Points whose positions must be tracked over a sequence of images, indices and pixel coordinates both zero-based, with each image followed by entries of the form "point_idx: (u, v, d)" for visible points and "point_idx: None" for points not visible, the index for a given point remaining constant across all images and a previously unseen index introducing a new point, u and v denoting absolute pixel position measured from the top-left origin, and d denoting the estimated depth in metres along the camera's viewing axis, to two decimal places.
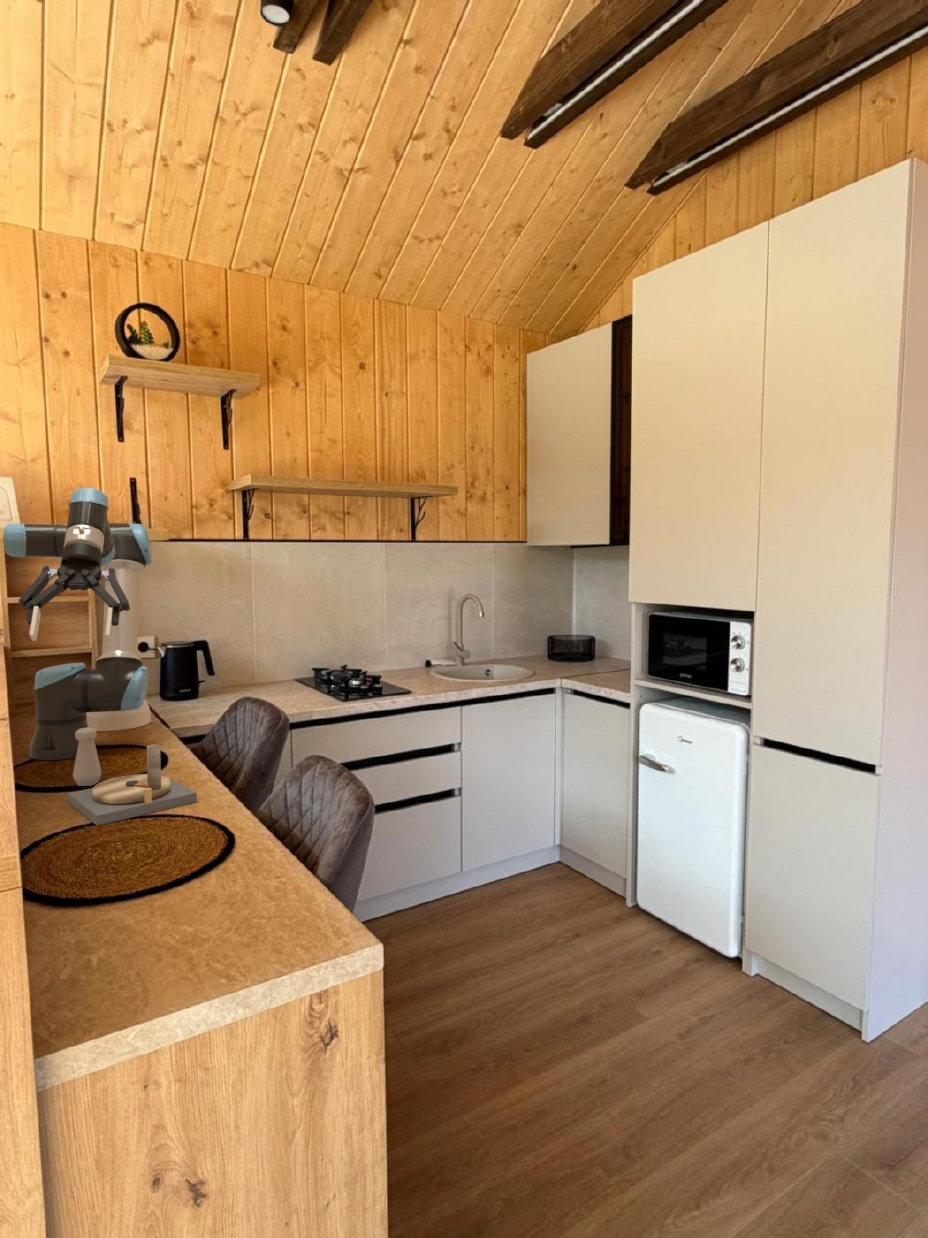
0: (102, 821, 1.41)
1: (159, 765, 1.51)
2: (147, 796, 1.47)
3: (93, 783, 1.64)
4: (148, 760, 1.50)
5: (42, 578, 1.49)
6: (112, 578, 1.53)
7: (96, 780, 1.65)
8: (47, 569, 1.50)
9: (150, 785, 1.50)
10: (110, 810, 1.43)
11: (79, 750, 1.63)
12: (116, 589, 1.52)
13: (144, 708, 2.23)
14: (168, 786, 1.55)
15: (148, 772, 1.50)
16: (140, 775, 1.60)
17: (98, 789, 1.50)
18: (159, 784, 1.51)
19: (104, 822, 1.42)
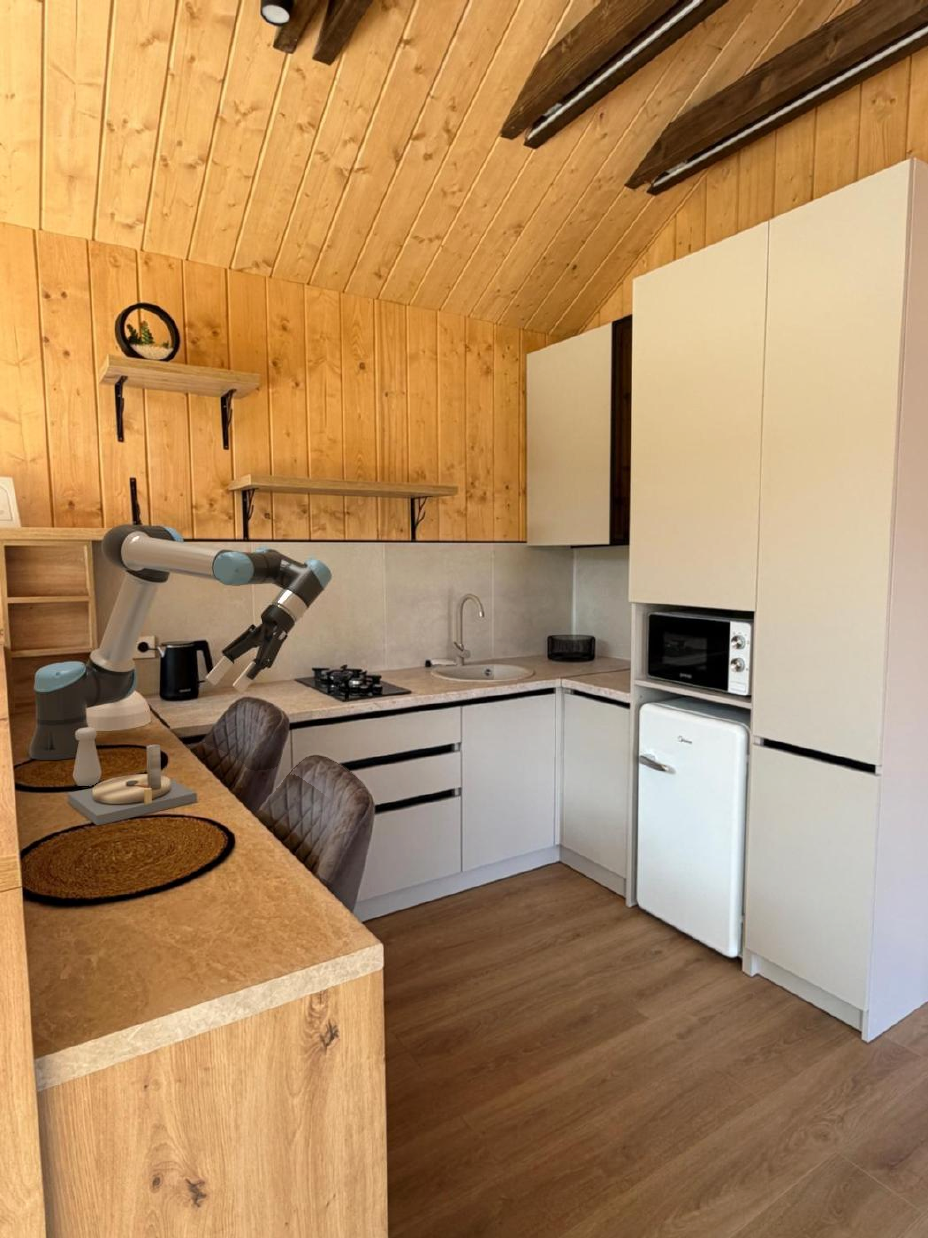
0: (102, 821, 1.41)
1: (159, 765, 1.51)
2: (147, 796, 1.47)
3: (93, 783, 1.64)
4: (148, 760, 1.50)
5: None
6: None
7: (96, 780, 1.65)
8: None
9: (150, 785, 1.50)
10: (110, 810, 1.43)
11: (79, 750, 1.63)
12: None
13: (144, 708, 2.23)
14: (168, 786, 1.55)
15: (148, 772, 1.50)
16: (140, 775, 1.60)
17: (98, 789, 1.50)
18: (159, 784, 1.51)
19: (104, 822, 1.42)
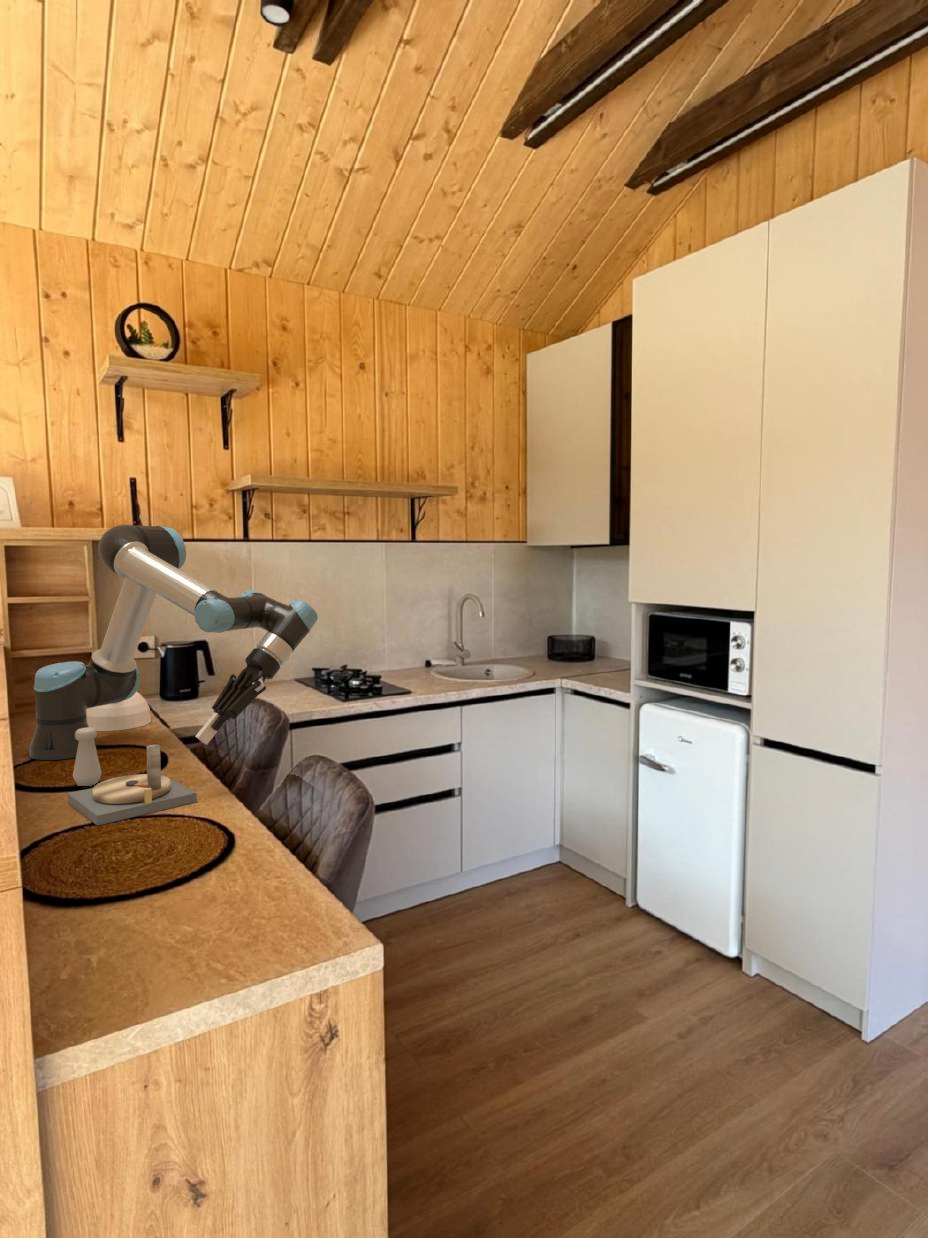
0: (102, 821, 1.41)
1: (159, 765, 1.51)
2: (147, 796, 1.47)
3: (93, 783, 1.64)
4: (148, 760, 1.50)
5: None
6: None
7: (96, 780, 1.65)
8: None
9: (150, 785, 1.50)
10: (110, 810, 1.43)
11: (79, 750, 1.63)
12: None
13: (144, 708, 2.23)
14: (168, 786, 1.55)
15: (148, 772, 1.50)
16: (140, 775, 1.60)
17: (98, 789, 1.50)
18: (159, 784, 1.51)
19: (104, 822, 1.42)
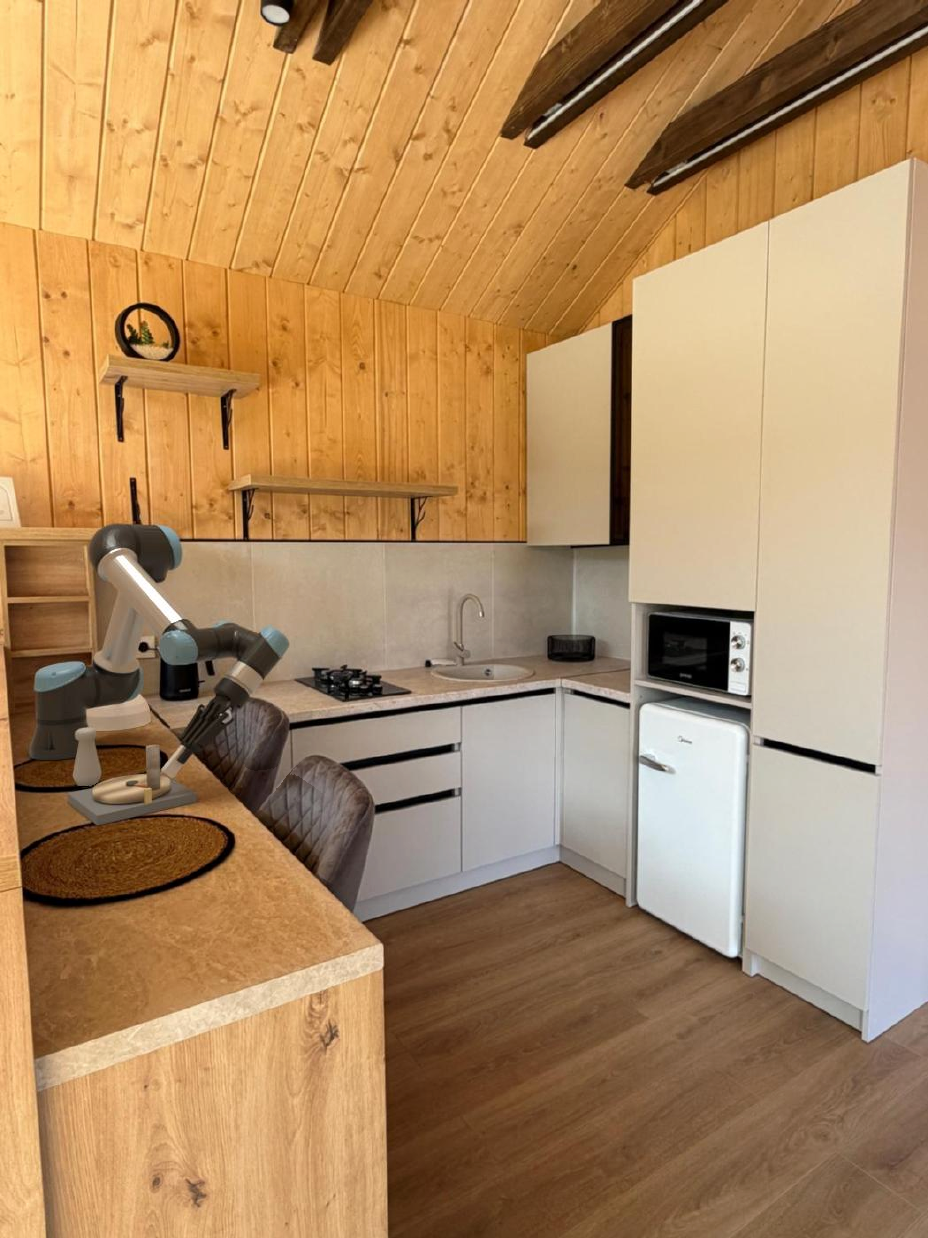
0: (102, 821, 1.41)
1: (158, 765, 1.51)
2: (147, 796, 1.47)
3: (93, 783, 1.64)
4: (147, 760, 1.50)
5: None
6: None
7: (96, 780, 1.65)
8: None
9: (149, 785, 1.50)
10: (110, 810, 1.43)
11: (79, 750, 1.63)
12: None
13: (144, 708, 2.23)
14: (168, 786, 1.54)
15: (147, 772, 1.50)
16: (141, 775, 1.60)
17: (98, 789, 1.51)
18: (158, 784, 1.51)
19: (104, 822, 1.42)
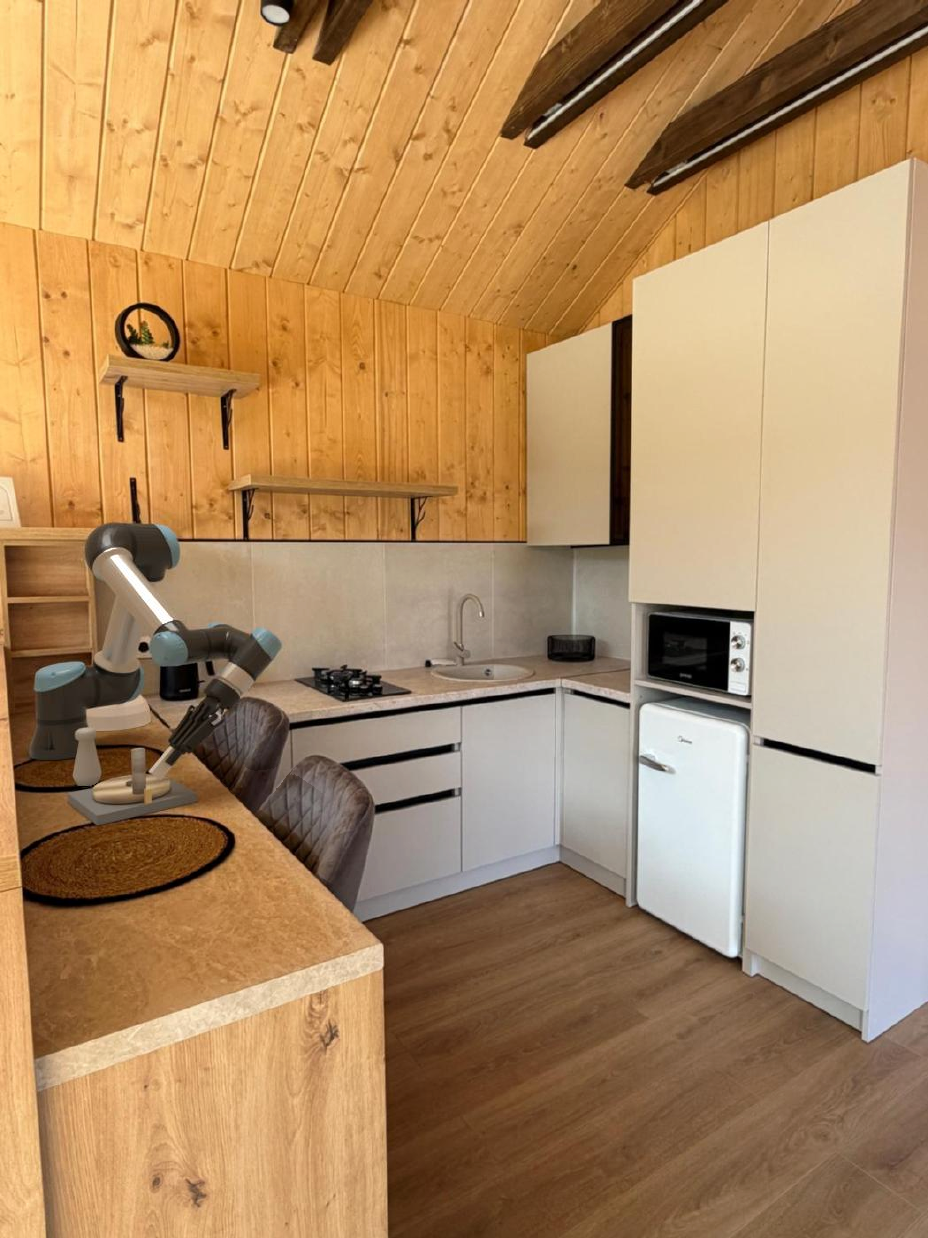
0: (102, 821, 1.41)
1: (141, 770, 1.48)
2: (147, 796, 1.47)
3: (93, 783, 1.64)
4: (131, 763, 1.48)
5: None
6: None
7: (96, 780, 1.65)
8: None
9: (132, 789, 1.48)
10: (110, 810, 1.43)
11: (79, 750, 1.63)
12: None
13: (144, 708, 2.23)
14: (156, 792, 1.50)
15: (132, 775, 1.48)
16: None
17: (102, 784, 1.54)
18: (141, 789, 1.48)
19: (104, 822, 1.42)
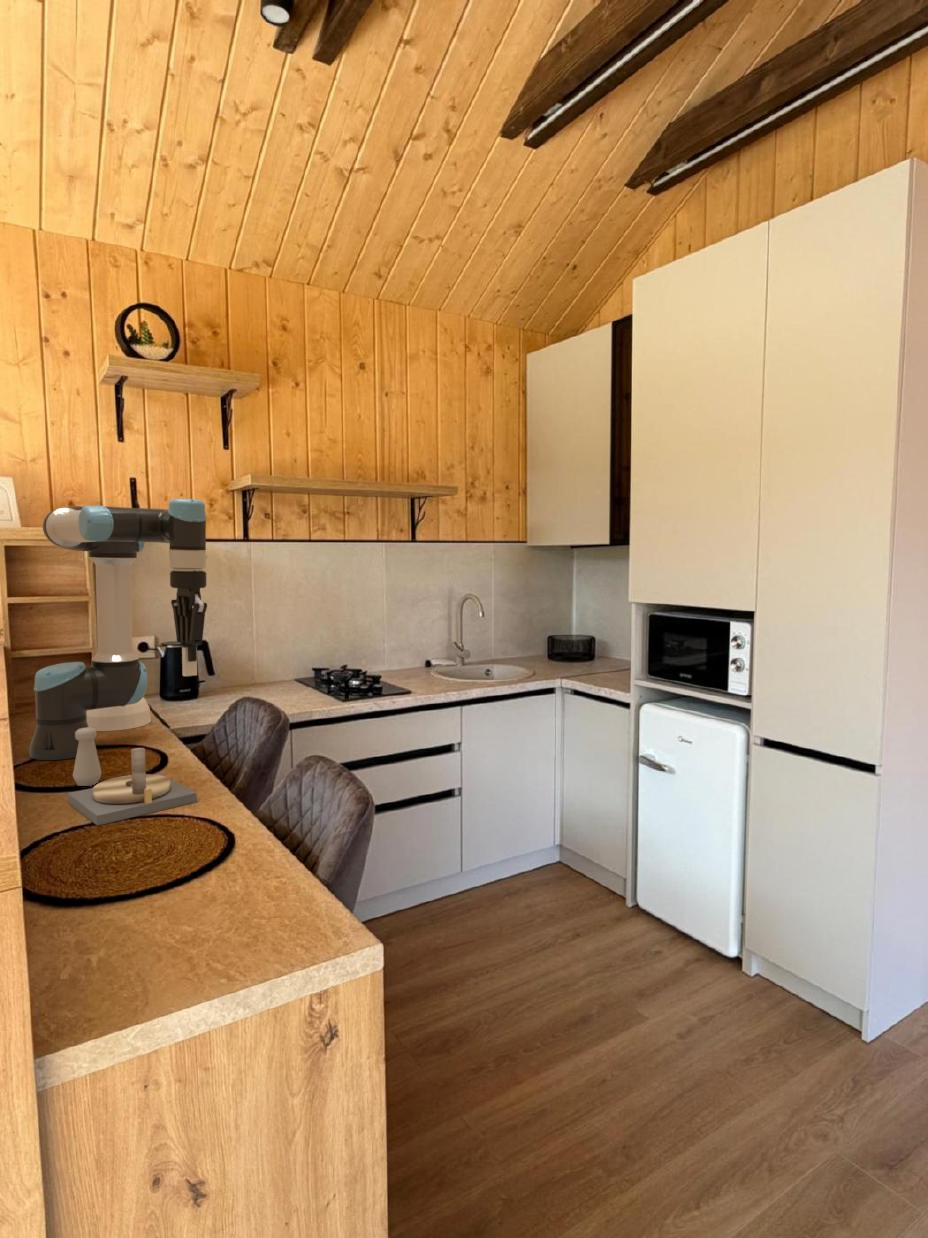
0: (102, 821, 1.41)
1: (141, 770, 1.48)
2: (147, 796, 1.47)
3: (93, 783, 1.64)
4: (131, 763, 1.48)
5: None
6: None
7: (96, 780, 1.65)
8: None
9: (132, 789, 1.48)
10: (110, 810, 1.43)
11: (79, 750, 1.63)
12: None
13: (144, 708, 2.23)
14: (156, 792, 1.50)
15: (132, 775, 1.48)
16: (156, 776, 1.60)
17: (102, 784, 1.54)
18: (141, 789, 1.48)
19: (104, 822, 1.42)
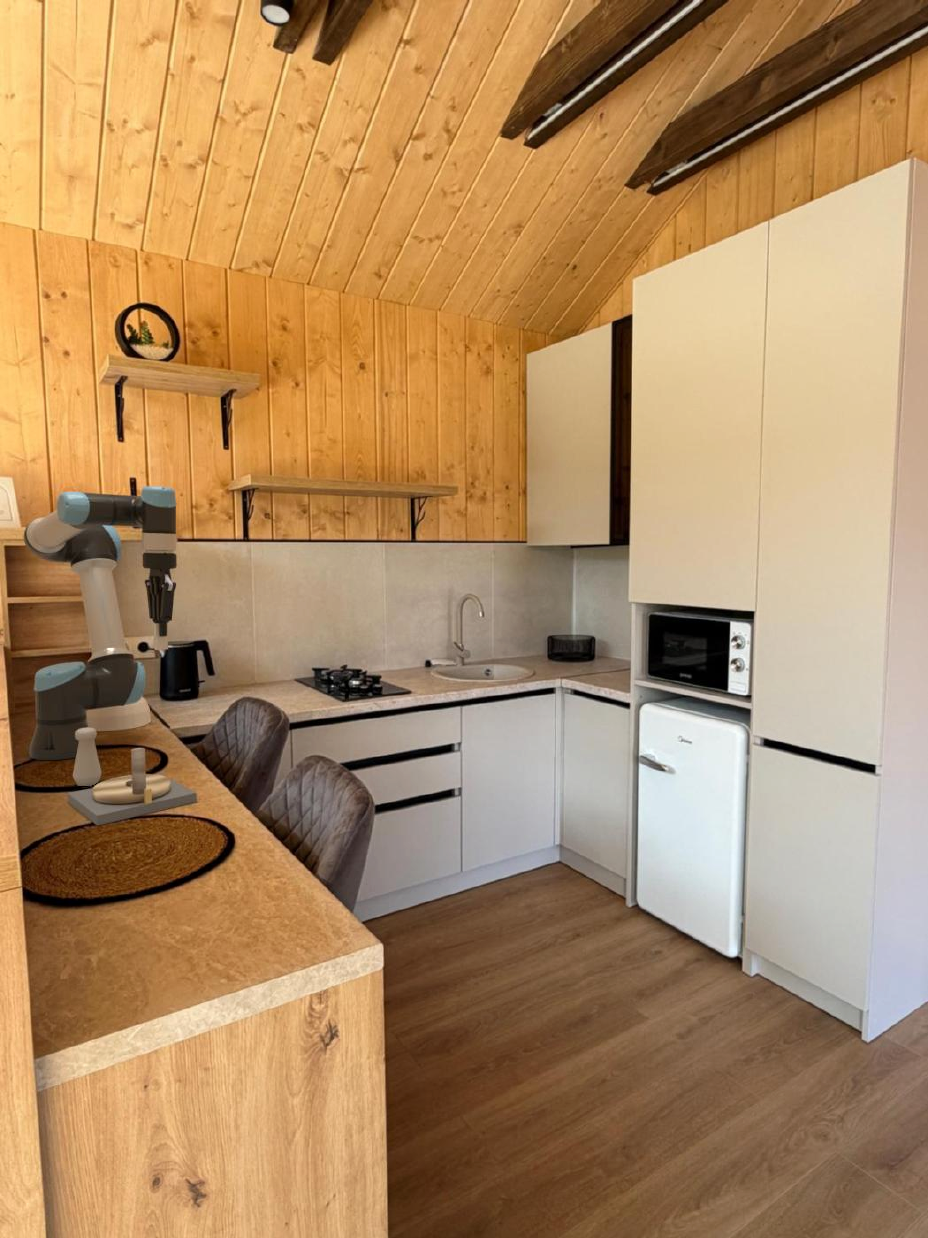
0: (102, 821, 1.41)
1: (141, 770, 1.48)
2: (147, 796, 1.47)
3: (93, 783, 1.64)
4: (131, 763, 1.48)
5: None
6: None
7: (96, 780, 1.65)
8: None
9: (132, 789, 1.48)
10: (110, 810, 1.43)
11: (79, 750, 1.63)
12: None
13: (144, 708, 2.23)
14: (156, 792, 1.50)
15: (132, 775, 1.48)
16: (156, 776, 1.60)
17: (102, 784, 1.54)
18: (141, 789, 1.48)
19: (104, 822, 1.42)
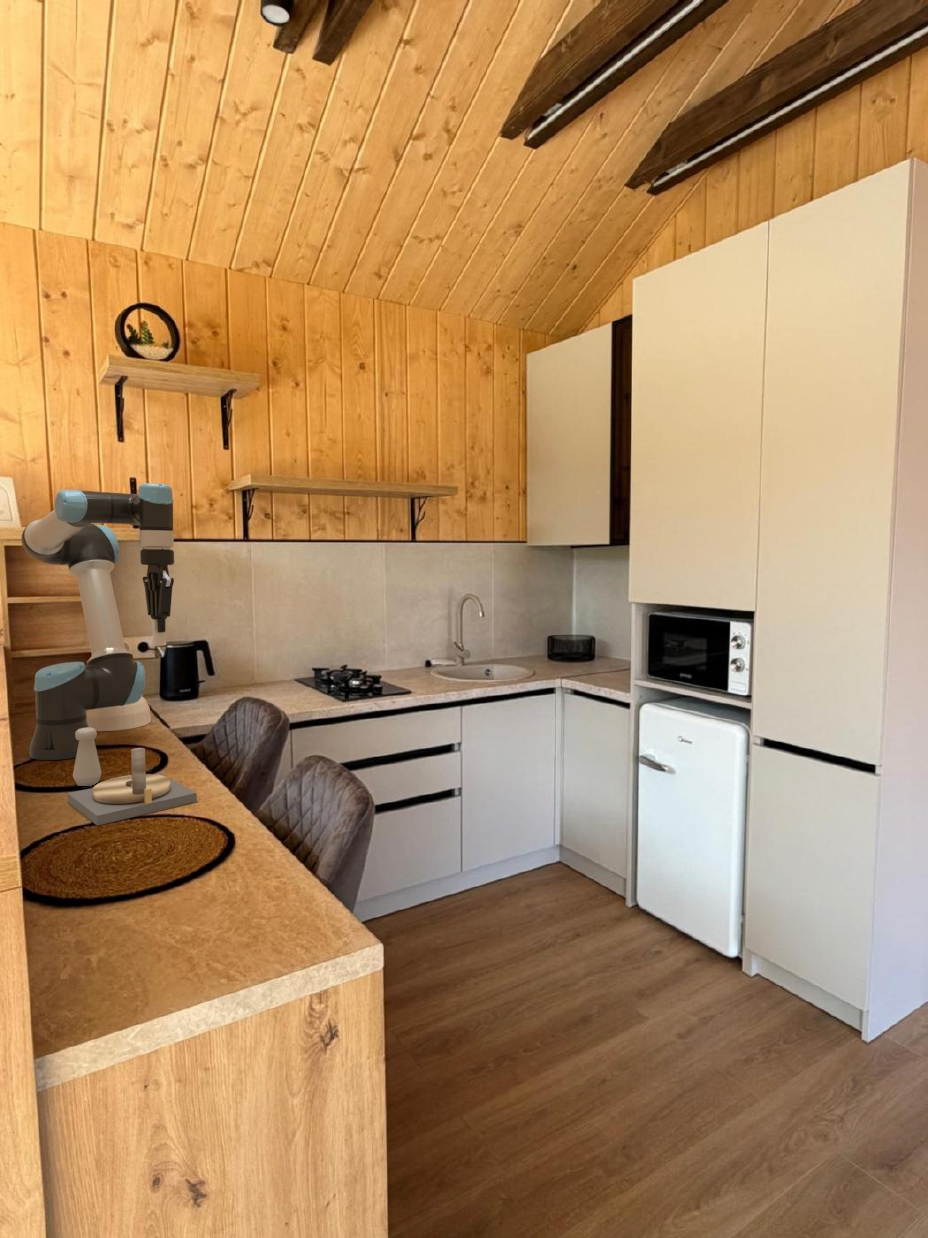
0: (102, 821, 1.41)
1: (141, 770, 1.48)
2: (147, 796, 1.47)
3: (93, 783, 1.64)
4: (131, 763, 1.48)
5: None
6: None
7: (96, 780, 1.65)
8: None
9: (132, 789, 1.48)
10: (110, 810, 1.43)
11: (79, 750, 1.63)
12: None
13: (144, 708, 2.23)
14: (156, 792, 1.50)
15: (132, 775, 1.48)
16: (156, 776, 1.60)
17: (102, 784, 1.54)
18: (141, 789, 1.48)
19: (104, 822, 1.42)
